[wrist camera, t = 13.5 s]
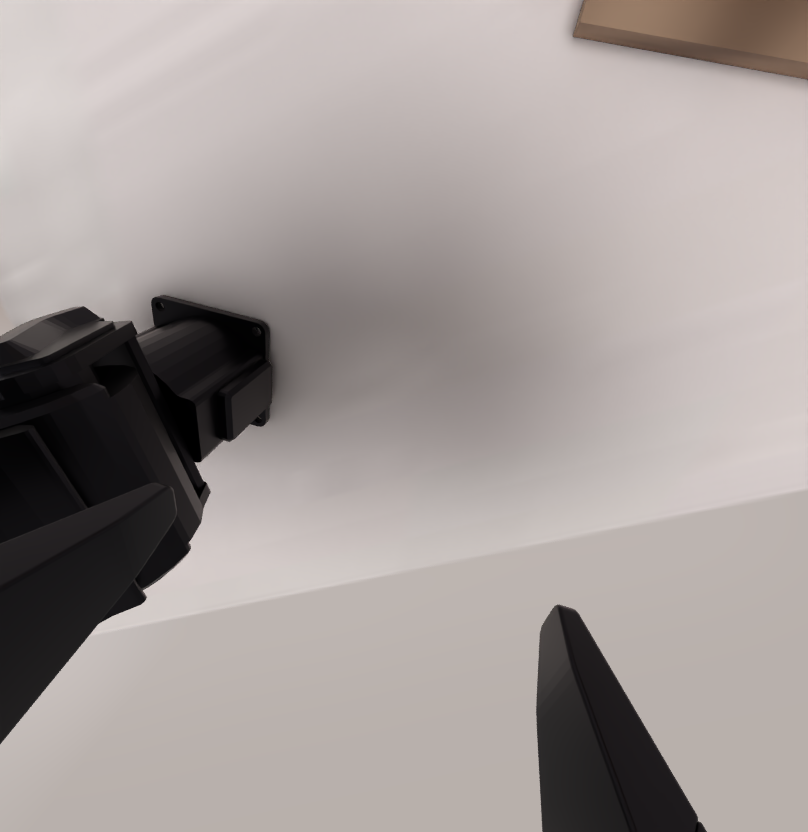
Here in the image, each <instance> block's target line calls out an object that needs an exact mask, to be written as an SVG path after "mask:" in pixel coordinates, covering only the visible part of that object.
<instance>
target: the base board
mask: <svg viewBox="0 0 808 832" xmlns="http://www.w3.org/2000/svg"><path fill="white" fill-rule="evenodd" d="M573 37H578V38H584V39H589V40H595V41H600V42H606V43H611V44H617V45H622V46H628V47H633V48H639V49H644V50H650V51H655V52H661V53H666V54H672V55H677V56H683V57H688V58H694V59H699V60H705V61H710V62H716V63H721V64H727V65H732V66H738V67H743V68H749V69H754V70H760V71H765V72H771V73H776V74H782V75H787V76H793V77H799V78H804V79H808V0H584V1H583V5H582V8H581V11H580V15H579V18H578V21H577V25H576V28H575V31H574V35H573Z"/></svg>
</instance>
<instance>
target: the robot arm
mask: <svg viewBox="0 0 808 832" xmlns="http://www.w3.org/2000/svg"><path fill="white" fill-rule="evenodd" d="M161 303H162V304H163V305H164V308H163V307H162V305H161ZM151 305H152V312H153V318H154V325H155V327H153V328H151V329H149V330H146V331H144V332H142V333H139V334H137V331H136V329H135V327H134V325H133V323H132V321H122V322H113V321H105V320H104V318H100V317H98V316H97V315H95V314H94V313H93V312H91V311H90V310H88V309H87V308H86V307H84V306H83V307H74V308H69V309H66V310H63V311H59V312H56V313H53V314H49V315H46V316H43V317H40V318H37V319H34V320H31V321H29V322H26V323H24V324H22V325H20V326H18V327H16V328H14V329H12V330H11V331H9V332H7V333H5V334H4V335H2V336H0V744H1V743H2V741H3V740H4V739H5V738H6V737H7V735H8V734H9V733H10V732H11V730H12V729H13V728H14V727H15V726H16V724H17V723H18V722H19V721H20V719H21V718H22V717H23V716H24V714H25V713H26V712H27V711H28V710H29V708H30V707H31V706H32V705H33V703H34V702H35V701H36V700H37V699H38V697H39V696H40V695H41V693H42V692H43V691H44V690H45V689H46V687H47V686H48V685H49V684H50V683H51V681H52V680H53V679H54V678H55V676H56V675H57V674H58V673H59V671H60V670H61V669H62V668H63V667H64V665H65V664H66V663H67V662H68V661H69V659H70V658H71V657H72V656H73V654H74V653H75V652H76V651H77V649H78V648H79V647H80V646H81V644H82V643H83V642H84V641H85V640H86V638H87V637H88V636H89V635H90V634H91V632H92V631H93V630H94V629H95V627H96V626H97V625H98V624H99V623H101V622H102V621H104V620H106V619H108V618H110V617H111V616H114V615H116V614H119V613H121V612H124V611H126V610H129V609H131V608H134V607H136V606H139V605H141V604H142V603H143V602H144V601H145V600H146V598H147V597H146V595H145V593H144V592H143V590H144V589H146V588H148V587H149V586H151V585H152V584H154V583H155V582H157V581H158V580H160V579H161V578H162V577H163V576H164V575H166V574H167V573H168V572H169V571H170V570H172V569H173V568H174V567H175V566H176V565H177V564H178V563H179V562H180V561H181V560H182V559H183V558H184V557H185V556H186V555H187V554H188V552H189V551H190V549H191V546H190V544H189V541H190V540H191V539H192V537H193V535H194V534H195V532H196V530H197V529H198V527H199V525H200V524H201V520H202V514H203V508H204V505H205V503H206V501H207V499H208V497H209V494H210V489H209V487H208V485H207V483H206V482H203V480H202V477H201V475H200V473H199V471H198V469H197V467H196V465H195V462H201V461H202V460H203V459H204V458H205V457H206V456H207V455H208V454H210V453H211V452H212V451H213V450H214V449H215V448H216V447H217V446H218V445H219V444H220V443H221V442H222V441H223V440H225V441H228V442H230V441H232V440H233V439H235V438H236V437H237V436H238V435H239V434H240V433H241V432H242V431H243V430H244V429H245V428H246V427H247V426H248V425H249V424H251V425H255V426H260V427H261V426H264V425H265V424H266V423H267V422H268V420H269V405H270V404H271V403H272V365H271V363H270V361H269V328H268V326H267V325H266V324H265V323H264V322H263V321H261V320H257V319H253V318H249V317H245V316H241V315H238V314H234V313H230V312H226V311H222V310H218V309H214V308H211V307H207V306H203V305H199V304H195V303H191V302H187V301H184V300H180V299H176V298H172V297H168V296H164V295H160V296H157V297H155V298H153V299H152V301H151ZM256 327H257V328H259V329H260V331H261V334H259V333H258V332H257V331H256ZM258 416H259V417H260V418H261V419H262V420H261V419H259V418H258ZM536 715H537V738H538V754H539V755H538V757H539V774H540V794H541V812H542V831H543V832H707V831H706V830H705V828H704V826H703V825H702V823H701V822H698V817H697V815H696V813H695V811H694V810H693V808H692V806H691V805H690V803H689V801H688V799H687V798H686V796H685V794H684V792H683V791H682V789H681V787H680V786H679V784H678V782H677V780H676V779H675V777H674V776H673V774H672V772H671V770H670V769H669V767H668V765H667V763H666V762H665V760H664V759H663V757H662V755H661V753H660V752H659V750H658V748H657V746H656V745H655V743H654V741H653V740H652V738H651V736H650V734H649V733H648V731H647V730H646V728H645V726H644V724H643V723H642V721H641V719H640V717H639V716H638V714H637V712H636V711H635V709H634V707H633V705H632V704H631V702H630V700H629V699H628V697H627V695H626V694H625V692H624V690H623V689H622V687H621V685H620V683H619V682H618V680H617V678H616V677H615V675H614V673H613V671H612V670H611V668H610V666H609V665H608V663H607V661H606V659H605V658H604V656H603V654H602V653H601V651H600V649H599V648H598V646H597V644H596V642H595V641H594V639H593V637H592V636H591V634H590V632H589V630H588V629H587V627H586V625H585V624H584V622H583V620H582V619H581V617H580V615H579V614H578V612H577V611H576V610H574V609H572V608H569V607H566V606H562V605H556V606H554V608H553V609H552V611H551V612H550V614H549V615H548V617H547V618H546V620H545V622H544V623H543V625H542V627H541V631H540V643H539V663H538V682H537V706H536Z"/></svg>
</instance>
